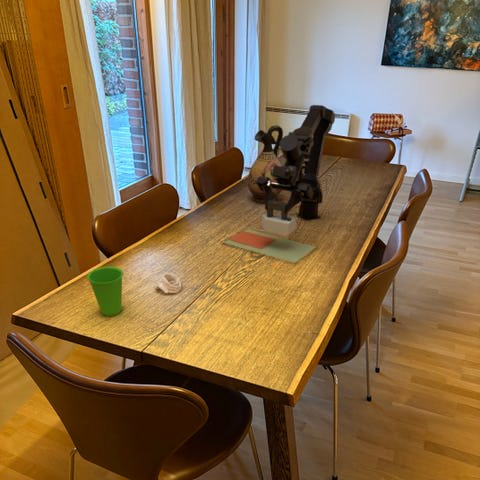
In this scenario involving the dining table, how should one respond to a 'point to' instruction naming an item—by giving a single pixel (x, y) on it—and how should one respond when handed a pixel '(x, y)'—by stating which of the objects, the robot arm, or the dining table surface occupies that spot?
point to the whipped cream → (166, 285)
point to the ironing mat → (271, 245)
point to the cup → (107, 289)
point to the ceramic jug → (265, 162)
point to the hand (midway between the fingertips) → (275, 211)
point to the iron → (277, 221)
